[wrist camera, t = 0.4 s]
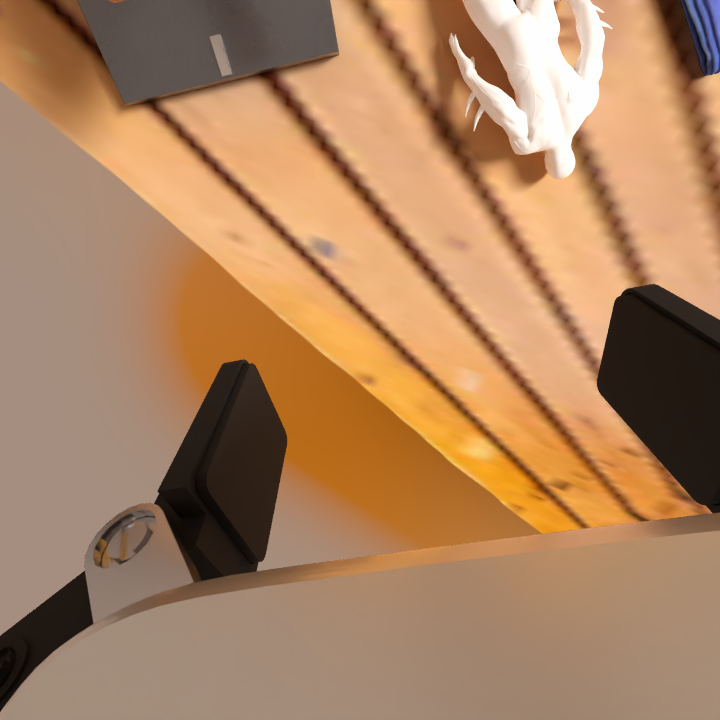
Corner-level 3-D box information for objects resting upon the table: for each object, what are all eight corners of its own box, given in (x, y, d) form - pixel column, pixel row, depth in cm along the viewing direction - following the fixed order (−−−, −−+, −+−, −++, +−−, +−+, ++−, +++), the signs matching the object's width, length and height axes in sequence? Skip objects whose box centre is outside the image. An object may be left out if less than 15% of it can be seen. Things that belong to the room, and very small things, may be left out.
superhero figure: (363, -113, 25) (495, 203, 37) (357, -155, 21) (510, 221, 33) (531, -299, 21) (619, 130, 33) (571, -406, 16) (657, 139, 28)
